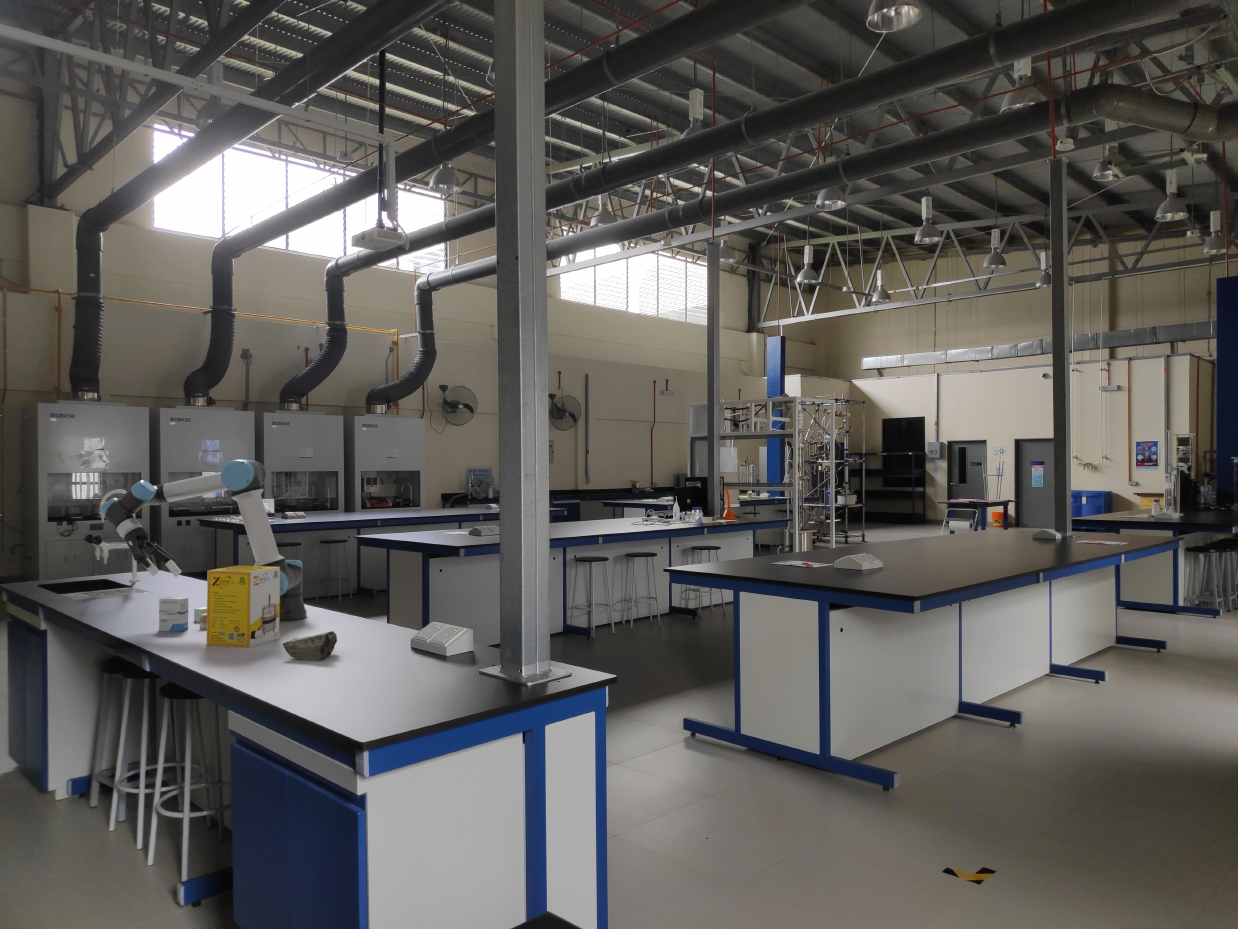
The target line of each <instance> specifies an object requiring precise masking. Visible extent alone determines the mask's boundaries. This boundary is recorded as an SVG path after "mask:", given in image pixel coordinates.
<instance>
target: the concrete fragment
mask: <svg viewBox="0 0 1238 929" xmlns="http://www.w3.org/2000/svg"><path fill="white" fill-rule="evenodd" d="M337 643H338V639H337V633H336V632H335V631H334V630H332V631H330V630H329V631H327V632H323V633H318V634H314V635H307V636H303V637H299V638H293V639H292V640H289V641H288V640H287V641H285V642H283V643H282V646H283V648H284V651H285V652H286V653H287V654H288V655H289V656H290V657H291V658H293V659H296V660H297V659H298V660H299V661H308V662H320V661H323V660H324V659H326V658H329V657H330V656H331V655H332V653H333V651H334V650H335V648H336V647H335V646H336V644H337Z"/></svg>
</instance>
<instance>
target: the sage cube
mask: <svg viewBox="0 0 1238 929" xmlns="http://www.w3.org/2000/svg"><path fill="white" fill-rule="evenodd" d="M193 611H194V612H193V616H194V617H193V621H194V622H197V623H200V615H202V614H205V613H207V606H202V607H195V608H194V610H193Z"/></svg>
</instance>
